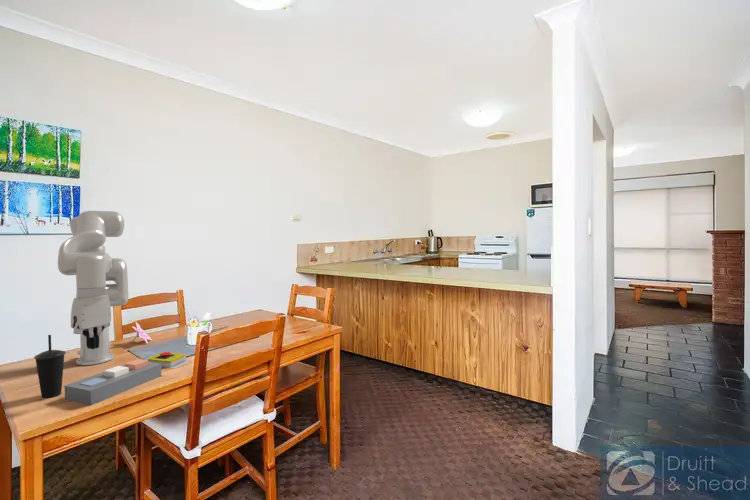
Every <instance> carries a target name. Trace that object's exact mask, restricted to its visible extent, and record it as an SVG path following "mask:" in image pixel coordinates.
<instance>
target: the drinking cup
mask: <svg viewBox="0 0 750 500" xmlns="http://www.w3.org/2000/svg"><path fill="white" fill-rule="evenodd" d="M47 336H48V349H47V350H45V351H42V352H40V353H38V354H36V355H34V357H33V358H34V360H35V365H36V372H37V376H38V382H39V383H38V384H39V389H40V395H41V396H40V397H41V398H42V399H51V398H55V397H58V396H61V394H62V389H63V376H64V375H63V374H64V367H65V365H64V364H65V355H66V352H67V351H65V350H60V349H52V335H51V334H48V335H47Z"/></svg>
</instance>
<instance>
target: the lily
mask: <svg viewBox="0 0 750 500" xmlns="http://www.w3.org/2000/svg"><path fill="white" fill-rule="evenodd" d="M135 324H136V327H135V326H134V325H133V326H131V327H132V328H133V329H134V330H135V331H136V336H135V337H134V338H133V339H132V341H131V342H130V345H132V343H133V342H134V341H135V340H136V339H137V338H142V339H143V340H144V341H145V342H146V344H148V340H150V341H152V338H151V337H150V336H149V335H148V334H147V333H146V331H145V330H144V329H142V328H141V325H140V324H139V323H138V322H137V321H135Z"/></svg>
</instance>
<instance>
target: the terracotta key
mask: <svg viewBox="0 0 750 500" xmlns="http://www.w3.org/2000/svg"><path fill="white" fill-rule="evenodd" d="M124 365H125V367H129V369H131V370H137V369H140V368H142V367H145V366H148V359H140V358H137V359H134V360H131V361H128V362H125V363H124Z"/></svg>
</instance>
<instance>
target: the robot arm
mask: <svg viewBox="0 0 750 500" xmlns="http://www.w3.org/2000/svg"><path fill="white" fill-rule="evenodd" d="M69 226H70V231H71V234H72V236H71V237H69V238H68V239H66V240H65V241H64V242H63V243H61V245H60V247H59V249H58V257H57V269H58V271H59V273H61V274H62V275H64V276H75V281H76V285H75V287H76V295H75V297H74V298H73V300H72V304H71V310H70V328H71V329H73V334H74V335H80V338H79V339H80V342H79V343H80V349H79V350H78V351H76V354H77V355H79V358H77V359H76V360H75V364H76V365H78V366H94V365H98V364H102V363H106V362H109V361H111V360H113V359H114V358H115V355H114V353H111V352H110V326H111V321H112V310H111V307H119V306H124V305H125V304H126V305H127V303H128V301H129V281H128V280H129V279H128V277H129V275H128V266H127V262H126V261H125V260H124V259H122V258H118V257H117V258H112V257H111V256H110V254H108V253H107V252H106V247H105V245H104V244H105V243H106V241H107V240H106V239H107V238H119V237H121V236H122V235H123V233H124V230H125V219H124V217H123V215H122V214H121V213H120V212H117V211H115V210H114V211H113V210H112V211H111V210H110V211H109V210H108V211H107V210H86V211H85V210H84V211H83V212H81V213H79V214H78V216H75V217H73V218H71V219H70V221H69ZM111 281H112V282H114V283H107V282H111ZM106 283H107V284H106Z"/></svg>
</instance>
